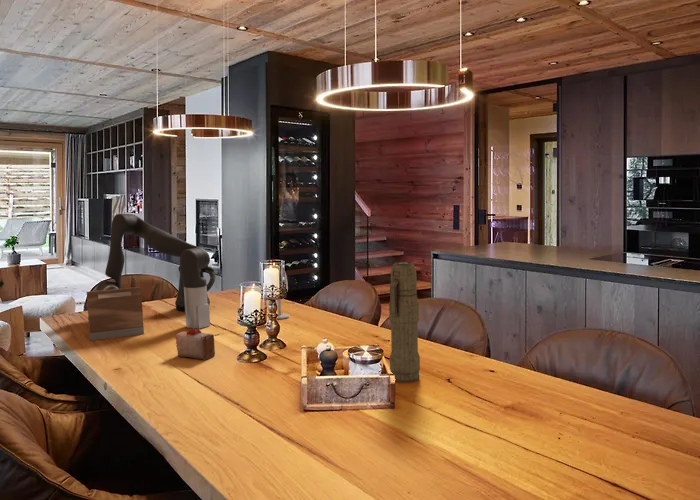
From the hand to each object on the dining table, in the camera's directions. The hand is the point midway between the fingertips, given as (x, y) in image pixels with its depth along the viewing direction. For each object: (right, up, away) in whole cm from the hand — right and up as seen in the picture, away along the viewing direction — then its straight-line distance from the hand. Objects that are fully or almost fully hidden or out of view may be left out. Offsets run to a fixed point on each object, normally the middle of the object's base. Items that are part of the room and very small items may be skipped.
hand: (114, 302), depth 236 cm
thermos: (+112, -18, -61) cm, 129 cm away
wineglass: (+64, -9, +24) cm, 69 cm away
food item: (+42, -16, -33) cm, 55 cm away
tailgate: (+3, -11, -4) cm, 12 cm away
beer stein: (+20, -8, +49) cm, 53 cm away
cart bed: (-1, -13, +4) cm, 13 cm away
